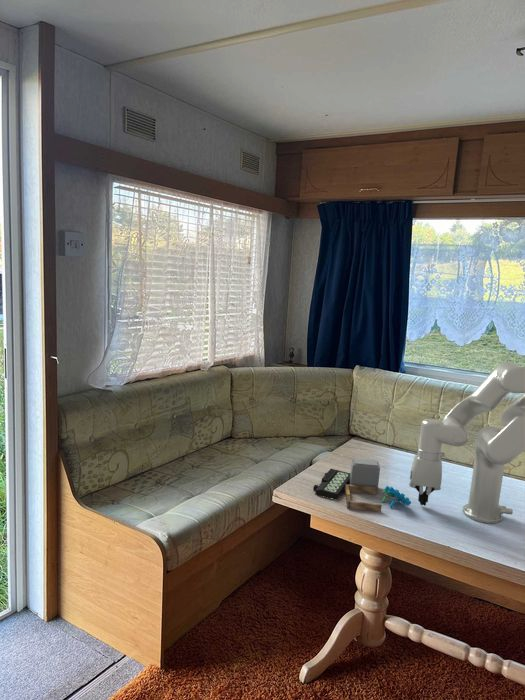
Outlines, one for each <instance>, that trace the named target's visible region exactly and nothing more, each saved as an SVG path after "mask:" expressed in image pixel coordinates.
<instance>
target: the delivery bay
mask: <svg viewBox="0 0 525 700" xmlns="http://www.w3.org/2000/svg"><path fill="white" fill-rule="evenodd" d="M344 493H345V502H346V509H350V510H358V511H359V510H360V511H368V512H369V511H370V512H378V513H382V504H381V503H375V502H373V503H372V502H364V501H357V500H356V501H354V500H351V493H358V494H367V495H375V496H376V495H377V494H378V492H377V487H367V486H358V485H349V484H346V485H345V490H344Z"/></svg>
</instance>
